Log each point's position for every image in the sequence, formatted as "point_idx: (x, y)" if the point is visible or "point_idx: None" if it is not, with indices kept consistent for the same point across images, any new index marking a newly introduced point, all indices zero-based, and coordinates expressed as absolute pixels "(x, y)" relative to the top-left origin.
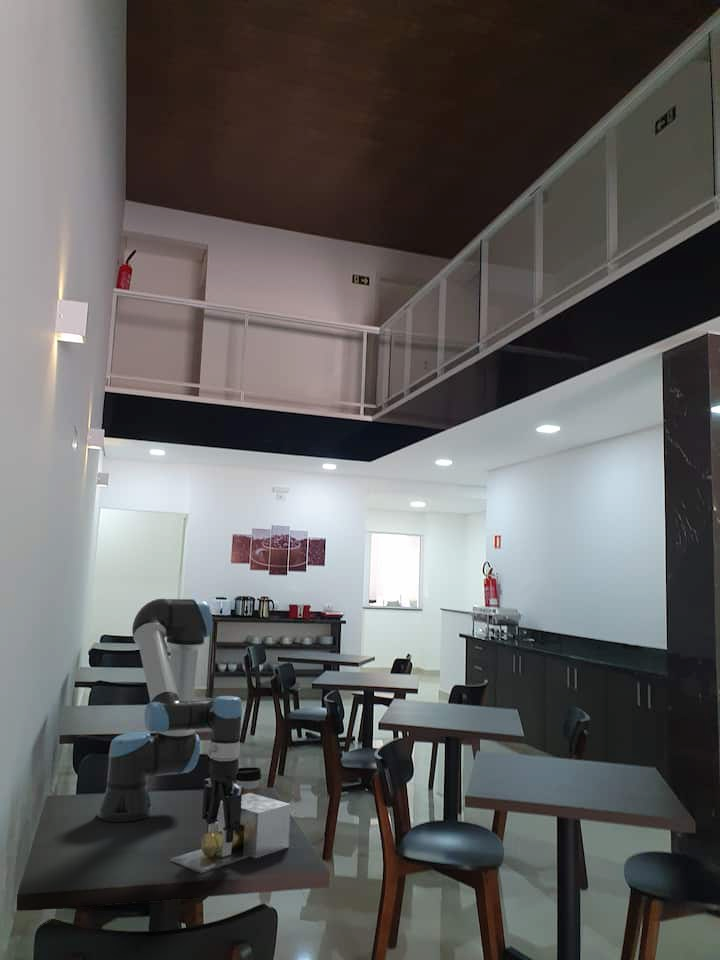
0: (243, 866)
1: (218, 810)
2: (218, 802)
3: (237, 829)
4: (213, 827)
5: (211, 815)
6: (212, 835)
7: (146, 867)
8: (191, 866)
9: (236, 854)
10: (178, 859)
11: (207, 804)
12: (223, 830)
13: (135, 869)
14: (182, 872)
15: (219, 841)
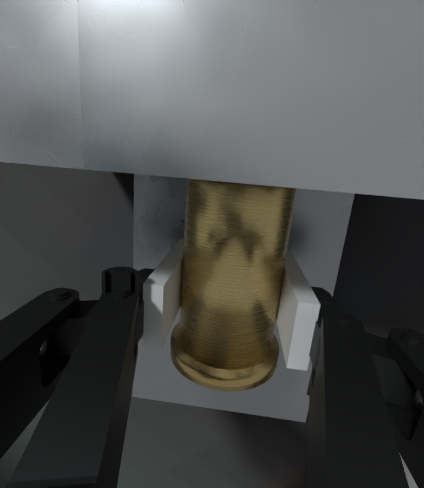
0: (398, 286)
1: (128, 339)
2: (112, 440)
3: (268, 187)
4: (167, 315)
5: (131, 380)
6: (246, 385)
7: (127, 457)
8: (247, 412)
9: (301, 225)
10: (160, 390)
11: (8, 427)
12: (294, 363)
13: (118, 480)
14: (245, 435)
15: (271, 337)
